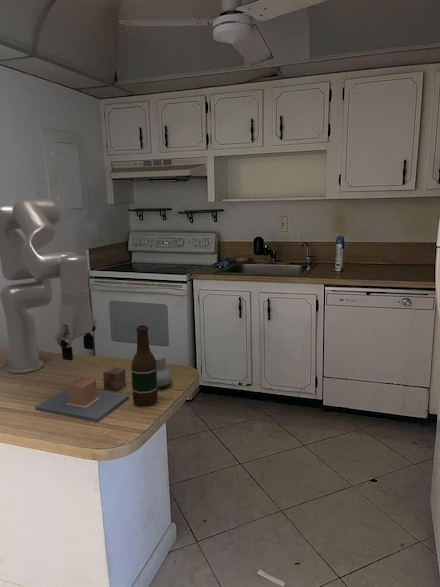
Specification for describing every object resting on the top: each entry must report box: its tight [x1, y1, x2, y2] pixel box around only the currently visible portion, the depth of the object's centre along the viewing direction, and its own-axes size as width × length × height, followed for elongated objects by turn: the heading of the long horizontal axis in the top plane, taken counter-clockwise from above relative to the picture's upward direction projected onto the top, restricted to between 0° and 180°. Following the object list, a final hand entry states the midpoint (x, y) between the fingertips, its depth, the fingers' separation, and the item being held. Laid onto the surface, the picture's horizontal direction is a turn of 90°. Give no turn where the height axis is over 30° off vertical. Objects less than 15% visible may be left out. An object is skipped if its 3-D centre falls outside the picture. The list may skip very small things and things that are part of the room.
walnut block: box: [102, 366, 127, 392], centre depth 146 cm, size 5×5×6 cm
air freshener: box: [152, 353, 171, 389], centre depth 148 cm, size 11×8×10 cm
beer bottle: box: [131, 325, 158, 408], centre depth 133 cm, size 8×8×24 cm
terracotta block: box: [66, 377, 98, 406], centre depth 134 cm, size 6×6×6 cm
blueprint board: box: [34, 388, 130, 423], centre depth 134 cm, size 22×16×1 cm
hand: (78, 354), depth 131 cm, fingers open, 9 cm apart
